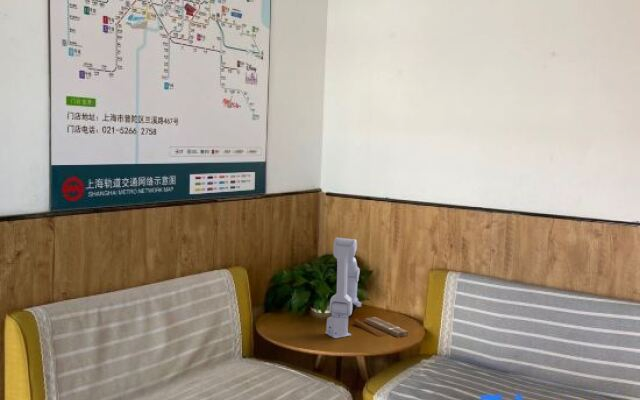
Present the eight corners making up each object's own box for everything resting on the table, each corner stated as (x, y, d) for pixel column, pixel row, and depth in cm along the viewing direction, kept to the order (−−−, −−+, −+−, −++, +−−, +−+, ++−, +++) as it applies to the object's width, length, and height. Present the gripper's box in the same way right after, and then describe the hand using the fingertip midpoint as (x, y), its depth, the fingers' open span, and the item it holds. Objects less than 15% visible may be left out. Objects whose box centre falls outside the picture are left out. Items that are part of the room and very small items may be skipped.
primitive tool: (387, 335, 266) (387, 328, 266) (379, 338, 262) (379, 330, 262) (357, 324, 280) (357, 317, 280) (349, 326, 277) (349, 319, 276)
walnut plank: (397, 337, 263) (398, 332, 263) (365, 322, 283) (365, 318, 283) (407, 335, 267) (407, 331, 266) (374, 320, 286) (375, 316, 286)
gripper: (366, 293, 278) (365, 320, 280) (348, 286, 290) (347, 312, 292) (355, 294, 274) (353, 322, 276) (337, 287, 286) (336, 314, 288)
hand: (349, 317), depth 283 cm, fingers closed
